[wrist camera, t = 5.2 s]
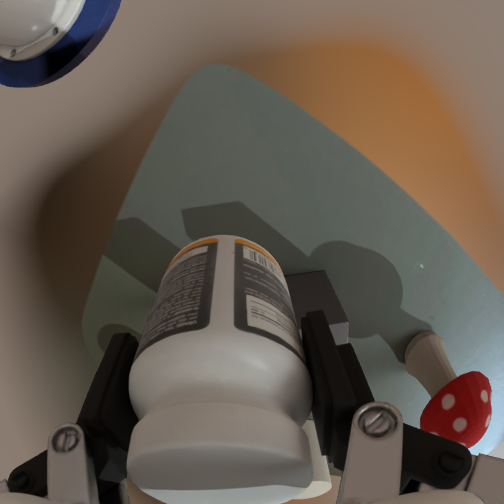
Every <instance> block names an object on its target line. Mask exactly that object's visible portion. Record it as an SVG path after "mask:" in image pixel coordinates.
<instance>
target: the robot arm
mask: <svg viewBox="0 0 504 504" xmlns="http://www.w3.org/2000/svg"><path fill="white" fill-rule="evenodd" d="M85 1H86V0H0V56H2V57H3V58H5V59H8V60H13V61H26V60H29V59H33V58H35V57H37V56H39V55H41V54H43V53H45V52H46V51H48V50H49V49H50V48H52V47H53V46H54V45H55V44H56V43H57V42H59V41H60V40H61V39H62V38H63V36H64V35H65V34H66V33H67V32H68V31H69V30H70V28H71V27H72V25H73V24H74V23H75V21H76V20H77V18H78V16H79V14H80V12H81V10H82V8H83V6H84V3H85ZM301 330H302V344H303V348H304V352H305V356H306V359H307V363H308V367H309V370H310V374H311V376H312V383H313V404H312V408H311V410H312V414H313V419H314V424H315V428H316V433H317V437H318V442H319V447H320V452H321V455H322V456H326V455H328V460H329V463H332V462H333V464H334V467H335V468H337V469H339V470H341V471H342V476H341V482H340V487H339V492H338V496H337V501H336V504H504V459H501V458H497V457H492V456H488V455H484V454H480V453H479V455H478V456H476V455H472V454H471V453H470V451H469V450H468V449H467V448H466V447H465V446H464V445H462V444H460V443H458V442H455V441H452V440H449V439H446V438H443V437H440V436H438V435H435V434H432V433H429V432H426V431H423V430H421V429H418V428H415V427H413V426H410V425H407V424H405V423H403V419H402V415H401V413H400V412H399V410H398V409H397V408H396V407H395V406H393V405H391V404H389V403H386V402H380V401H378V402H375V400H374V398H373V395H372V393H371V390H370V388H369V385H368V383H367V380H366V378H365V375H364V373H363V371H362V368H361V366H360V363H359V361H358V359H357V356H356V354H355V352H354V349H353V347H352V345H351V344H350V343H346V344H341V345H336V343H335V340H334V338H333V335H332V332H331V330H330V327H329V325H328V322H327V319H326V317H325V314H324V312H323V310H317V311H311V312H307V313H306V317H301ZM138 346H139V344H138V341H137V339H136V337H134V336H131V334H130V333H116V334H114V335H113V337H112V339H111V341H110V343H109V345H108V348H107V350H106V352H105V355H104V357H103V359H102V362H101V364H100V366H99V369H98V371H97V372H96V375H95V377H94V379H93V382H92V384H91V387H90V389H89V392H88V394H87V397H86V399H85V402H84V404H83V407H82V410H81V412H80V414H79V417H78V420H77V422H76V424H74V423H64V424H61V425H59V426H57V427H56V428H55V429H54V430H53V431H52V432H51V434H50V436H49V439H48V449H47V450H45V451H44V452H42V453H40V454H39V455H37V456H35V457H34V458H32V459H30V460H29V461H27V462H25V463H23V464H22V465H20V466H18V467H17V468H15V469H14V470H13V471H12V472H11V474H10V476H9V479H8V481H7V480H6V479H4V480H2V481H0V504H130V501H129V496H128V491H127V487H126V482H125V478H127V457H128V451H129V445H130V440H131V435H132V432H133V429H134V427H135V426H136V424H137V423H138V422H139V421H140V420H139V419H138V417H137V416H136V414H135V412H134V410H133V407H132V404H131V401H130V397H129V375H130V370H131V367H132V364H133V361H134V358H135V355H136V351H137V349H138Z"/></svg>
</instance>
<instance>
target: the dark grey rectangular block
mask: <svg viewBox="0 0 504 504" xmlns="http://www.w3.org/2000/svg"><path fill="white" fill-rule="evenodd" d="M284 278H285V281H286V284H287V287H288V291H289V295H290V299H291V303H292V307H293V310H294V314H295V319H296V323H297V327H298V330H299V333H300V337H301V340H302V330H301V317H306V313H307V312H311V311H317V310H323V312H324V314H325V317H326V319H327V322H328V325H329V327H330V330H331V332H332V335H333V338H334V340H335V343H336V345H341V344H346V343H348V328H349V321H348V319H347V317H346V314H345V312H344V310H343V308H342V306H341V304H340V302H339V300H338V297H337V295H336V293H335V291H334V289H333V287H332V285H331V283H330V281H329V279H328V277H327V275H326V273H325V271H318V272H311V273H304V274H297V275H289V276H284Z"/></svg>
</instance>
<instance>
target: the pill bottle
mask: <svg viewBox="0 0 504 504" xmlns="http://www.w3.org/2000/svg"><path fill="white" fill-rule="evenodd" d="M129 397H130V401H131V404H132V407H133V410H134V412H135V414H136V416H137V417H138V419H139V420H140V421H139V422H138V423H137V424H136V426H135V427H134V429H133V432H132V435H131V440H130V445H129V451H128V457H127V473H128V476H129V478H130V479H131V481H132V482H133V483H134V484H135V485H136V486H137V487H138V488H140V489H141V490H142V491H144V492H145V493H147V494H148V495H150V496H152V497H154V498H156V499H158V500H160V501H162V502H165V503H168V504H281V503H284V502H287V501H289V500H291V499H293V498H295V497H296V496H298V495H300V494H301V493H302V492H304V491H305V490H306V489H307V488H308V487H309V485H310V484H311V482H312V479H313V472H314V470H313V463H312V458H311V451H310V444H309V439H308V437H307V435H306V433H305V431H304V430H303V429H302V427H303V425H304V424H305V422H306V421H307V419H308V417H309V414H310V412H311V408H312V404H313V383H312V376H311V374H310V370H309V367H308V363H307V359H306V356H305V352H304V348H303V344H302V340H301V337H300V333H299V330H298V327H297V323H296V319H295V314H294V310H293V307H292V303H291V299H290V295H289V291H288V287H287V284H286V281H285V278H284V275H283V273H282V270H281V268H280V266H279V265H278V263H277V261H276V260H275V259H274V258H273V256H272V255H271V254H270V253H269V252H268V251H266V250H265V249H264V248H263V247H261V246H260V245H258V244H256V243H254V242H252V241H250V240H247V239H245V238H242V237H238V236H233V235H215V236H209V237H204V238H201V239H199V240H197V241H194V242H192V243H190V244H189V245H187V246H186V247H184V248H183V249H182V250H180V251H179V252H178V253H177V255H176V256H175V257H174V258H173V260H172V261H171V263H170V264H169V266H168V268H167V270H166V272H165V275H164V277H163V279H162V281H161V284H160V287H159V290H158V292H157V295H156V298H155V300H154V303H153V306H152V309H151V311H150V314H149V317H148V319H147V322H146V325H145V328H144V331H143V334H142V337H141V340H140V342H139V346H138V349H137V351H136V355H135V358H134V361H133V364H132V367H131V370H130V375H129Z"/></svg>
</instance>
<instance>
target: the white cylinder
mask: <svg viewBox="0 0 504 504" xmlns="http://www.w3.org/2000/svg"><path fill="white" fill-rule="evenodd" d="M302 429H303V430H304V431H305V433H306V435H307V437H308V439H309V444H310V451H311V458H312V463H313V470H314V472H313V479H312V482H311V484H310V485H309V487H308V488H307V489H306V490H305V491H304V492H302V493H301V494H300V495H298V496H296V497H295V498H293V499H306V498H312V497H316V496H319V495H322V494H324V493H326V492H327V491H329V490H330V488H331V487H332V485H331V480H330V475H329V470H328V465H327V460H326V456H322V455H321V452H320V447H319V442H318V437H317V433H316V428H315V424H314V421H313V420H308V419H307V421H306V422H305V424H304V425H303V427H302Z"/></svg>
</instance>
